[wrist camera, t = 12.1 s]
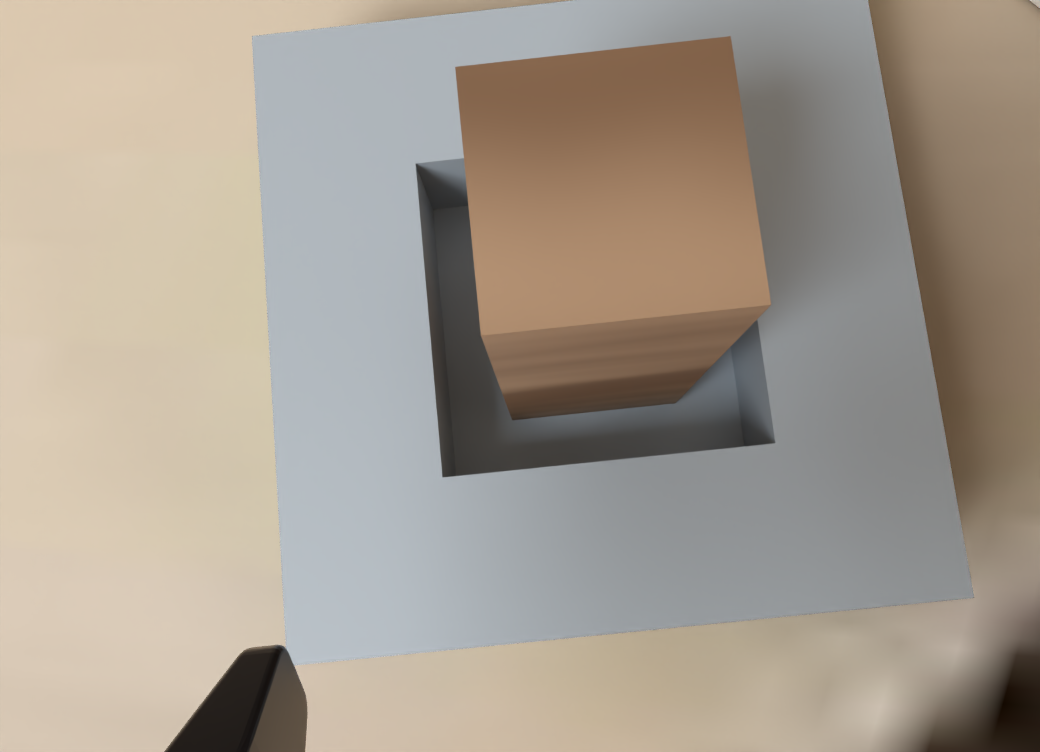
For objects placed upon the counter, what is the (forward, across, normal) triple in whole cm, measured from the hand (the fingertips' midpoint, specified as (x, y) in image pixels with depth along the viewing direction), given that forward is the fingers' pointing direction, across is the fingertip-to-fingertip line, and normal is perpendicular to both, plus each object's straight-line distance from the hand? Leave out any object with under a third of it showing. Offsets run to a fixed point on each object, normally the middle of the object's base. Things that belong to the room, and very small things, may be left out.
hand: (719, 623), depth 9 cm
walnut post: (+13, +1, +5) cm, 14 cm away
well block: (+14, +1, +5) cm, 15 cm away
